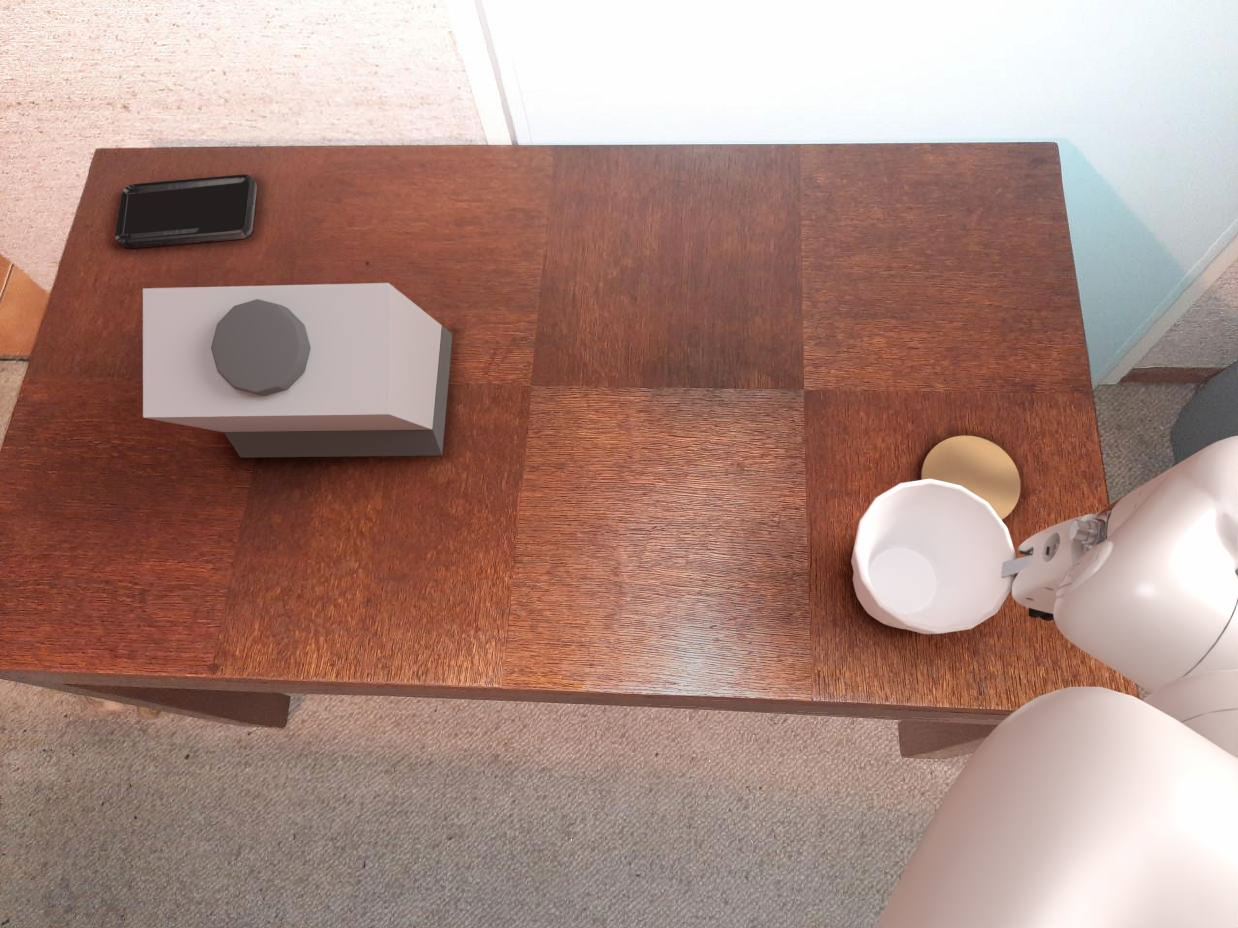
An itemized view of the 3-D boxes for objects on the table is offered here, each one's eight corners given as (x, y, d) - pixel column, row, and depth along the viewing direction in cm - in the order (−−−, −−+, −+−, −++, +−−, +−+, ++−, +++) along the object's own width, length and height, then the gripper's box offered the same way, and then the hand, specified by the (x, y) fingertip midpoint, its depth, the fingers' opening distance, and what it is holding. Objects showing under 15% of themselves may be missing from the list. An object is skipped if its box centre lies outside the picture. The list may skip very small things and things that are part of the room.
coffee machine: (452, 334, 89) (392, 215, 70) (440, 477, 84) (371, 391, 64) (261, 337, 90) (150, 222, 71) (236, 479, 85) (110, 395, 66)
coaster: (1032, 517, 79) (1034, 516, 78) (937, 536, 79) (938, 534, 78) (1000, 428, 82) (1002, 427, 81) (908, 446, 82) (909, 445, 81)
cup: (989, 550, 78) (1038, 516, 68) (943, 676, 75) (987, 661, 64) (859, 495, 80) (887, 454, 70) (809, 614, 77) (830, 590, 67)
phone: (123, 185, 96) (253, 173, 96) (129, 191, 97) (258, 179, 97) (113, 244, 94) (247, 232, 93) (119, 250, 95) (252, 239, 94)
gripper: (1027, 577, 55) (943, 622, 72) (1276, 635, 53) (1128, 667, 70) (1039, 470, 57) (955, 538, 75) (1278, 522, 55) (1135, 579, 72)
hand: (1039, 601), depth 72 cm, fingers closed
